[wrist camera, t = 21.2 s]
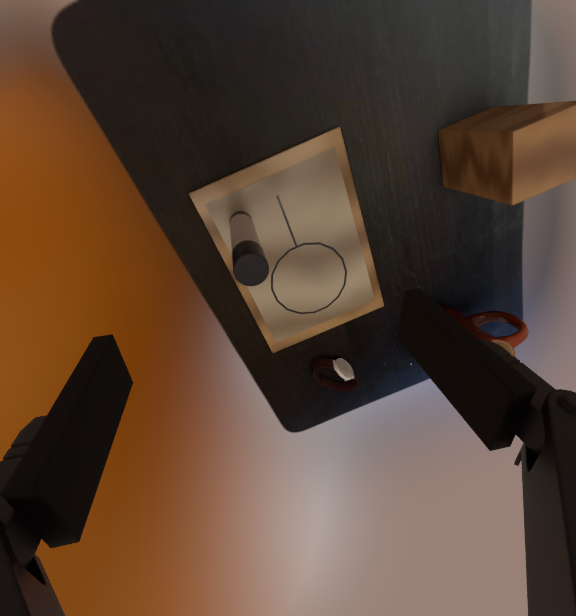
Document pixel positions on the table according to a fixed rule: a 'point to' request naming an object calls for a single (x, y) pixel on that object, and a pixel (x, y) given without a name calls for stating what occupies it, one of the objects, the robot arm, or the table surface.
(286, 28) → the table surface
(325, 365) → the watch
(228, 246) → the sketch pad
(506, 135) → the wooden block
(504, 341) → the mug
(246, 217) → the marker
